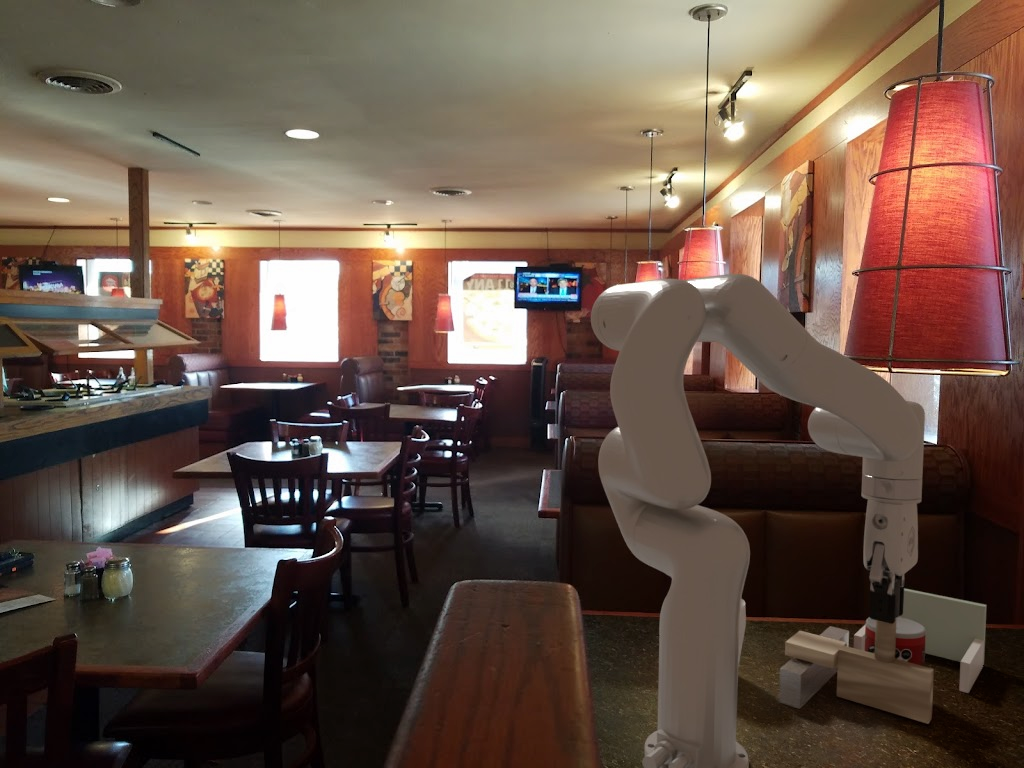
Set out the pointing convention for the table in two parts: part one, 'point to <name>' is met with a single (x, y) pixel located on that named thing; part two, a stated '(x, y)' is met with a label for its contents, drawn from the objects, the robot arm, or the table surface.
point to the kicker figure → (872, 670)
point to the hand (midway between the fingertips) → (886, 615)
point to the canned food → (901, 640)
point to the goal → (946, 630)
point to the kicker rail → (807, 674)
